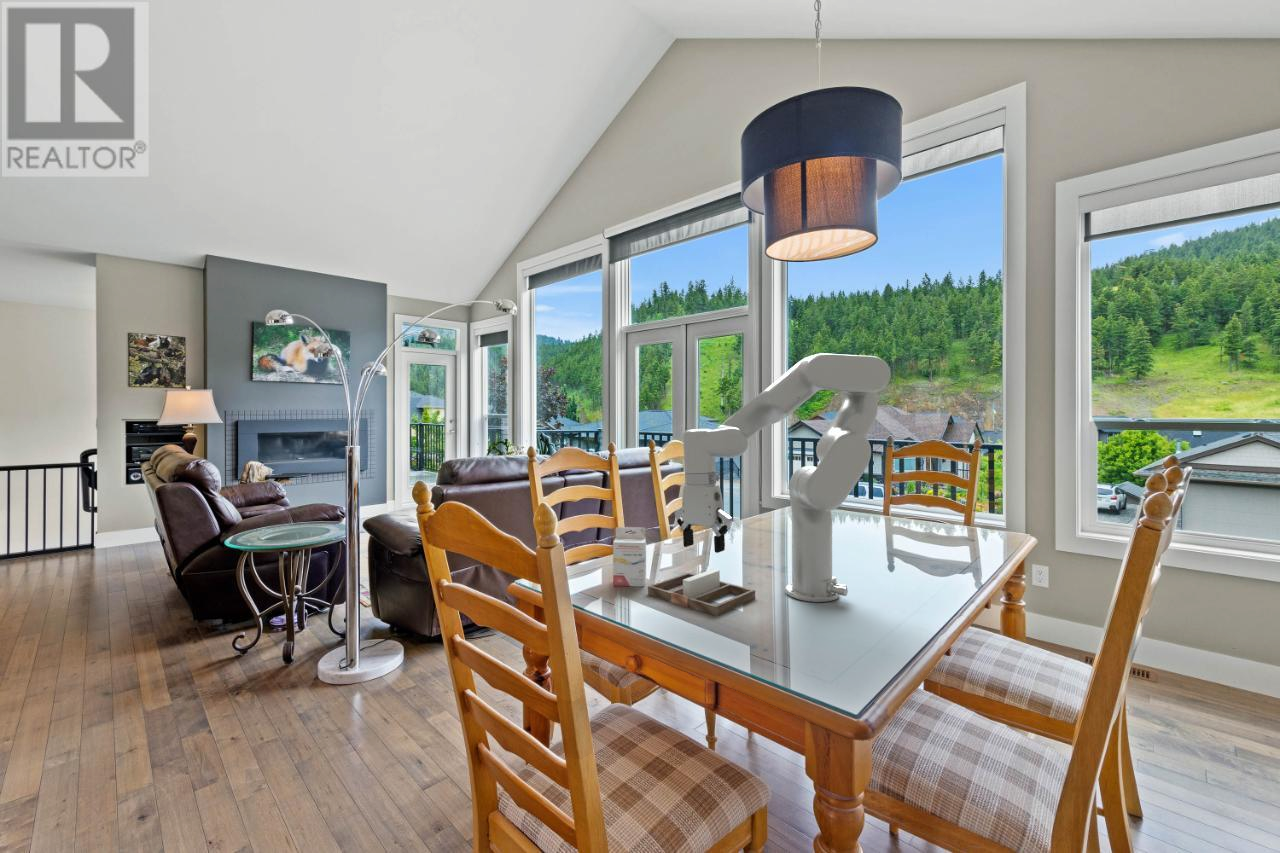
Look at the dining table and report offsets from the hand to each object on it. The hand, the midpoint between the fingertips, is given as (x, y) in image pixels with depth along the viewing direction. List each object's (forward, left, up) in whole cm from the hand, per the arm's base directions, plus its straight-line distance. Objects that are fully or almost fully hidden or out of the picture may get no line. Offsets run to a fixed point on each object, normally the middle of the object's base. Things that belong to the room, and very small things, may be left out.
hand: (703, 548), depth 135 cm
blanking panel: (+1, 0, -12) cm, 12 cm away
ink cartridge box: (+21, +6, -12) cm, 25 cm away
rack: (+1, +1, -12) cm, 12 cm away
